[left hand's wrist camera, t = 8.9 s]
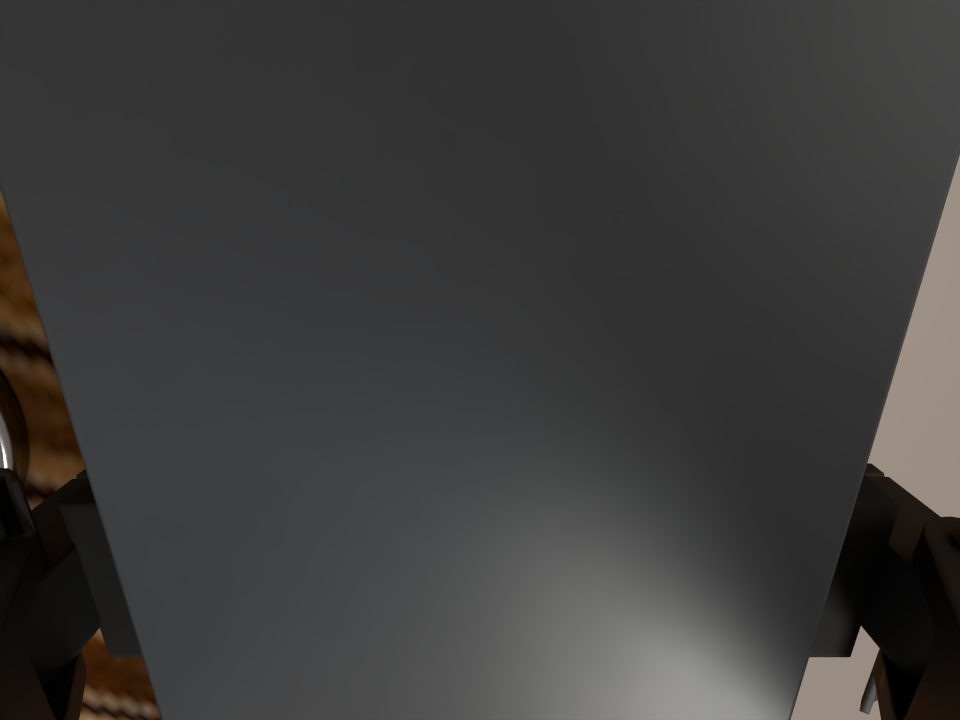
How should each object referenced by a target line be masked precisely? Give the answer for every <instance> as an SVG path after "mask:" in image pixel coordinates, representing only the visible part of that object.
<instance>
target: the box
mask: <svg viewBox="0 0 960 720" xmlns="http://www.w3.org/2000/svg"><path fill="white" fill-rule="evenodd" d="M959 155H960V0H0V188H1V192H2V195H3V198H4V202H5V205H6V208H7V211H8V215H9V218H10V221H11V225H12V228H13V231H14V235H15V238H16V241H17V245H18V248H19V251H20V254H21V258H22V261H23V264H24V268H25V271H26V274H27V278H28V281H29V284H30V287H31V291H32V294H33V297H34V301H35V304H36V307H37V311H38V314H39V317H40V320H41V324H42V327H43V330H44V334H45V337H46V340H47V344H48V347H49V350H50V353H51V357H52V360H53V363H54V367H55V370H56V373H57V377H58V380H59V383H60V387H61V390H62V393H63V396H64V400H65V403H66V406H67V410H68V413H69V416H70V420H71V423H72V426H73V429H74V433H75V436H76V439H77V443H78V446H79V449H80V453H81V456H82V459H83V462H84V466H85V469H86V472H87V476H88V479H89V482H90V486H91V489H92V492H93V496H94V499H95V502H96V505H97V509H98V512H99V515H100V519H101V522H102V525H103V529H104V532H105V535H106V538H107V542H108V545H109V548H110V552H111V555H112V558H113V562H114V565H115V568H116V571H117V575H118V578H119V581H120V585H121V588H122V591H123V595H124V598H125V601H126V604H127V608H128V611H129V614H130V618H131V621H132V624H133V628H134V631H135V634H136V638H137V641H138V644H139V647H140V651H141V654H142V657H143V661H144V664H145V667H146V671H147V674H148V677H149V680H150V684H151V687H152V690H153V694H154V697H155V700H156V704H157V707H158V710H159V713H160V717H161V720H790V719H791V716H792V712H793V709H794V706H795V702H796V699H797V696H798V692H799V689H800V686H801V682H802V679H803V675H804V672H805V669H806V666H807V662H808V659H809V656H810V652H811V649H812V646H813V642H814V639H815V636H816V632H817V629H818V626H819V622H820V619H821V616H822V612H823V609H824V606H825V602H826V599H827V596H828V592H829V589H830V586H831V582H832V579H833V576H834V572H835V569H836V566H837V562H838V559H839V556H840V552H841V549H842V546H843V542H844V539H845V536H846V532H847V529H848V526H849V522H850V519H851V515H852V512H853V509H854V505H855V502H856V499H857V495H858V492H859V489H860V485H861V482H862V479H863V475H864V472H865V469H866V465H867V462H868V459H869V455H870V452H871V449H872V445H873V442H874V439H875V435H876V432H877V428H878V425H879V422H880V419H881V415H882V412H883V409H884V405H885V402H886V399H887V395H888V392H889V389H890V385H891V382H892V379H893V375H894V372H895V368H896V365H897V362H898V359H899V355H900V352H901V349H902V345H903V342H904V339H905V335H906V332H907V329H908V325H909V322H910V319H911V315H912V312H913V308H914V305H915V302H916V298H917V295H918V292H919V288H920V285H921V282H922V278H923V275H924V272H925V268H926V265H927V262H928V258H929V255H930V252H931V248H932V245H933V242H934V238H935V235H936V232H937V228H938V225H939V221H940V218H941V215H942V211H943V208H944V205H945V201H946V198H947V195H948V192H949V188H950V185H951V182H952V178H953V175H954V172H955V168H956V165H957V161H958V158H959Z"/></svg>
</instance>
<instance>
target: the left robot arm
mask: <svg viewBox="0 0 960 720" xmlns="http://www.w3.org/2000/svg"><path fill="white" fill-rule="evenodd" d="M28 466H29V441H28V435H27V431H26V426H25V423H24V420H23V417H22V414H21V411H20V409H19V407H18V404H17V402H16V400H15V398H14V396H13V394H12V393H11V391H10V389H9V387H8V386H7V384H6V383H5V381H4V380H3V378H2V377H1V375H0V720H79V717H80V711H81V705H82V699H83V694H84V688H85V682H86V676H87V671H86V664H85V660H84V657H83V655H82V652H81V650H82V649H83V647H84V646H85V645H86V644H87V642H88V641H89V640H90V639H91V638H92V636H93V635H94V634H95V633H96V631H97V630H98V629H99V628H100V629H101V632H102V635H103V638H104V641H105V644H106V647H107V650H108V653H109V656H110V657H142V654H141V651H140V647H139V644H138V641H137V638H136V634H135V631H134V628H133V624H132V621H131V618H130V614H129V611H128V608H127V604H126V601H125V598H124V595H123V591H122V588H121V585H120V581H119V578H118V575H117V571H116V568H115V565H114V562H113V558H112V555H111V552H110V548H109V545H108V542H107V538H106V535H105V532H104V529H103V525H102V522H101V519H100V515H99V512H98V509H97V505H96V502H95V499H94V496H93V492H92V489H91V486H90V482H89V479H88V476H87V472H86V469H84V470H83V471H82V472H81V473H79V474H78V475H77V478H76V479H72V480H70V481H69V482H68V483H66V484H65V485H64V486H63V487H61V488H60V489H59V490H57V491H56V492H55V493H54V494H52V495H51V496H50V497H48V498H47V499H46V500H44V501H43V502H42V503H41V504H39V505H38V506H37V507H35V508H34V509H33V510H32V511H31V509H30V506H29V504H28V501H27V498H26V495H25V492H24V490H23V485H24V483H25V480H26V476H27V473H28ZM860 626H862V627H863V628H864V630H865V631H866V632H867V633H868V634H869V636H870V637H871V638H872V639H873V641H874V642H875V643H876V644H877V645H878V647H879V648H880V649H879V652H878V655H877V657H876V660H875V663H874V666H873V669H872V672H871V674H870V677H869V680H868V683H867V685H866V688H865V691H864V694H863V697H862V700H861V706H860V711H861V712H864V713H866V714H869V713H870V710H871V707H872V705H873V702H875V701H877V700H878V703H879V709H880V715H881V720H960V518H956V517H940V516H939V515H937V514H936V513H935V512H933V511H932V510H931V509H930V508H928V507H927V506H926V505H924V504H923V503H922V502H920V501H919V500H918V499H917V498H915V497H914V496H913V495H911V494H910V493H909V492H907V491H906V490H905V489H904V488H902V487H901V486H900V485H898V484H897V483H896V482H894V481H893V480H892V479H891V478H889V477H885V476H884V473H883V472H881V471H880V470H879V469H878V468H876V467H875V466H874V465H872V464H868V463H867V465H866V469H865V472H864V475H863V479H862V482H861V485H860V489H859V492H858V495H857V499H856V502H855V505H854V509H853V512H852V515H851V519H850V522H849V526H848V529H847V532H846V536H845V539H844V542H843V546H842V549H841V552H840V556H839V559H838V562H837V566H836V569H835V572H834V576H833V579H832V582H831V586H830V589H829V592H828V596H827V599H826V602H825V606H824V609H823V612H822V616H821V619H820V622H819V626H818V629H817V632H816V636H815V639H814V642H813V646H812V649H811V652H810V656H809V657H850V656H851V653H852V650H853V647H854V644H855V641H856V638H857V635H858V632H859V629H860Z"/></svg>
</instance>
